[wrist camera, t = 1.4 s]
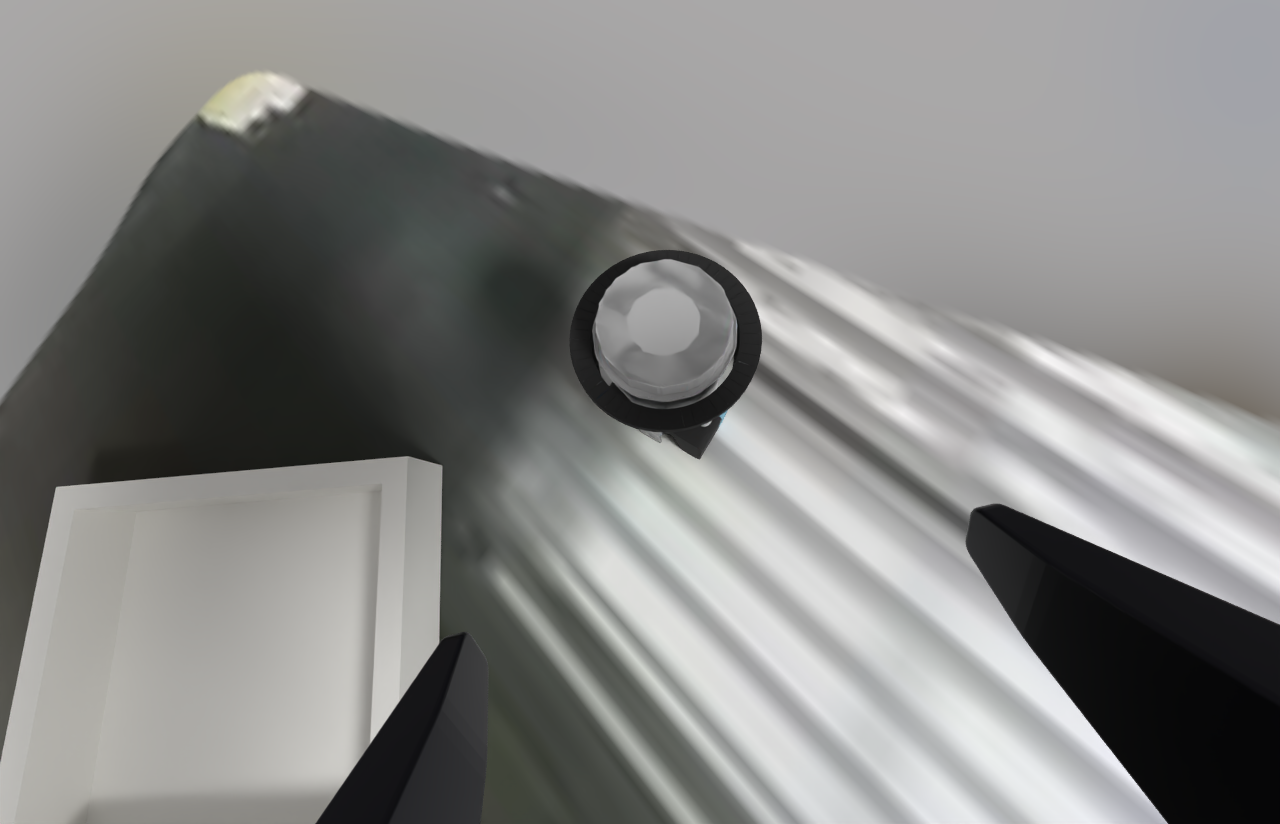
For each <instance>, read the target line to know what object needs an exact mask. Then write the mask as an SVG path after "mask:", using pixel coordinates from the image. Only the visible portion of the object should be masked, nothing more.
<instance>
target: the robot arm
mask: <svg viewBox="0 0 1280 824" xmlns="http://www.w3.org/2000/svg"><path fill="white" fill-rule="evenodd" d="M966 547H967V550H968V552H969V554H970V556H971V558H972V559H973V561H974V562H975V564H976V565H977V567H978V569H979V570H980V572H981V573H982V575H983V576H984V578H985V580H986V581H987V583H988V584H989V586H990V587H991V589H992V590H993V592H994V594H995V595H996V597H997V598H998V600H999V601H1000V603H1001V605H1002V606H1003V608H1004V609H1005V611H1006V612H1007V614H1008V616H1009V617H1010V619H1011V620H1012V622H1013V623H1014V625H1015V626H1016V628H1017V629H1018V631H1019V632H1020V634H1021V635H1022V637H1023V638H1024V639H1025V641H1026V642H1027V643H1028V645H1029V646H1030V647H1031V649H1032V650H1033V651H1034V653H1035V654H1036V655H1037V656H1038V658H1039V659H1040V660H1041V662H1042V663H1043V664H1044V665H1045V667H1046V668H1047V669H1048V670H1049V672H1050V673H1051V674H1052V676H1053V677H1054V678H1055V679H1056V681H1057V682H1058V683H1059V685H1060V686H1061V687H1062V688H1063V690H1064V691H1065V692H1066V694H1067V695H1068V696H1069V697H1070V699H1071V700H1072V701H1073V703H1074V704H1075V705H1076V706H1077V708H1078V709H1079V710H1080V711H1081V713H1082V714H1083V715H1084V717H1085V718H1086V719H1087V720H1088V722H1089V723H1090V724H1091V726H1092V727H1093V728H1094V729H1095V731H1096V732H1097V733H1098V735H1099V736H1100V737H1101V738H1102V740H1103V741H1104V742H1105V744H1106V745H1107V746H1108V747H1109V749H1110V750H1111V751H1112V752H1113V754H1114V755H1115V756H1116V758H1117V759H1118V760H1119V761H1120V763H1121V764H1122V765H1123V767H1124V768H1125V769H1126V770H1127V772H1128V773H1129V774H1130V776H1131V777H1132V778H1133V779H1134V781H1135V782H1136V783H1137V785H1138V786H1139V787H1140V788H1141V790H1142V791H1143V792H1144V793H1145V795H1146V796H1147V797H1148V799H1149V800H1150V801H1151V802H1152V804H1153V805H1154V806H1155V808H1156V809H1157V810H1158V811H1159V813H1160V814H1161V815H1162V817H1163V818H1164V819H1165V820H1166V822H1167V823H1168V824H1280V625H1279V624H1277V623H1275V622H1272V621H1270V620H1268V619H1265V618H1263V617H1261V616H1259V615H1256V614H1254V613H1252V612H1249V611H1247V610H1245V609H1242V608H1240V607H1238V606H1235V605H1233V604H1231V603H1229V602H1226V601H1224V600H1222V599H1219V598H1217V597H1215V596H1212V595H1210V594H1208V593H1206V592H1203V591H1201V590H1199V589H1196V588H1194V587H1192V586H1189V585H1187V584H1185V583H1182V582H1180V581H1178V580H1176V579H1173V578H1171V577H1169V576H1166V575H1164V574H1162V573H1159V572H1157V571H1155V570H1152V569H1150V568H1148V567H1146V566H1143V565H1141V564H1139V563H1136V562H1134V561H1132V560H1129V559H1127V558H1125V557H1122V556H1120V555H1118V554H1116V553H1113V552H1111V551H1109V550H1106V549H1104V548H1102V547H1099V546H1097V545H1095V544H1092V543H1090V542H1088V541H1086V540H1083V539H1081V538H1079V537H1076V536H1074V535H1072V534H1069V533H1067V532H1065V531H1063V530H1060V529H1058V528H1056V527H1053V526H1051V525H1049V524H1046V523H1044V522H1042V521H1039V520H1037V519H1035V518H1033V517H1030V516H1028V515H1026V514H1023V513H1021V512H1019V511H1016V510H1014V509H1012V508H1009V507H1007V506H1005V505H1002V504H990V505H986V506H981V507H977V508H975V509H974V510H973V511H972V512H971V514H970V519H969V525H968V530H967V535H966ZM487 736H488V664H487V660H486V657H485V655H484V654H483V652H482V651H481V649H480V648H479V646H478V645H477V643H476V642H475V640H474V639H473V637H472V636H471V634H469V633H467V632H462V633H457V634H453V635H449V636H447V637H445V638H444V639H442V640H441V642H440V643H439V644H438V646H437V647H436V649H435V650H434V652H433V653H432V655H431V656H430V657H429V659H428V660H427V662H426V663H425V665H424V666H423V668H422V669H421V671H420V672H419V673H418V675H417V676H416V678H415V679H414V681H413V682H412V684H411V685H410V687H409V688H408V689H407V691H406V692H405V694H404V695H403V697H402V698H401V700H400V701H399V703H398V704H397V705H396V707H395V708H394V710H393V711H392V713H391V714H390V716H389V717H388V718H387V720H386V721H385V723H384V724H383V726H382V727H381V729H380V730H379V732H378V733H377V734H376V736H375V737H374V739H373V740H372V742H371V743H370V745H369V746H368V748H367V749H366V750H365V752H364V753H363V755H362V756H361V758H360V759H359V761H358V762H357V764H356V765H355V766H354V768H353V769H352V771H351V772H350V774H349V775H348V777H347V778H346V780H345V781H344V782H343V784H342V785H341V787H340V788H339V790H338V791H337V793H336V794H335V796H334V797H333V798H332V800H331V801H330V803H329V804H328V806H327V807H326V809H325V810H324V812H323V813H322V814H321V816H320V817H319V819H318V820H317V822H316V823H315V824H480V823H481V814H482V805H483V796H484V787H485V778H486V767H487Z"/></svg>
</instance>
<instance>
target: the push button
mask: <svg viewBox="0 0 1280 824" xmlns="http://www.w3.org/2000/svg"><path fill="white" fill-rule="evenodd" d="M761 345H762V331H761V324H760V319H759V315H758V312H757V309H756V307H755V304H754V302H753V300H752V298H751V296H750V295H749V293H748V292H747V290H746V289H745V287H744V286H743V285H742V284H741V283H740V281H739V280H738V279H737V278H736V277H735V276H734V275H733V274H732V273H730V272H729V271H728V270H726V269H725V268H724V267H722V266H721V265H719V264H717V263H716V262H714V261H712V260H710V259H708V258H705V257H702V256H700V255H697V254H693V253H689V252H684V251H675V250H658V251H651V252H646V253H641V254H638V255H635V256H632V257H629V258H627V259H625V260H622V261H620V262H619V263H617V264H615V265H613V266H612V267H610V268H609V269H608V270H606V271H605V272H604V273H603V274H601V275H600V276H599V277H598V278H597V279H596V280H595V281H594V282H593V283H592V284H591V285H590V287H589V288H588V289H587V291H586V292H585V294H584V295H583V297H582V298H581V300H580V302H579V304H578V306H577V308H576V311H575V314H574V317H573V321H572V325H571V331H570V352H571V358H572V363H573V366H574V369H575V372H576V374H577V377H578V379H579V381H580V383H581V384H582V386H583V388H584V389H585V391H586V392H587V394H588V395H589V396H590V398H591V399H592V400H593V401H594V402H595V403H596V404H597V405H598V406H599V408H601V409H602V410H603V411H604V412H605V413H607V414H608V415H609V416H611V417H613V418H614V419H616V420H617V421H619V422H621V423H623V424H625V425H628V426H631V427H633V428H637V429H639V430H640V431H641V432H642V433H644V434H645V435H647V436H649V437H650V438H652V439H654V440H655V441H657V442H659V443H661V435H662V434H663V433H668V434H670V435H671V436H672V437H674V438H675V440H676V441H677V443H678V445H679V446H680V448H681V449H682V450H683V451H685V452H687V453H688V454H690V455H692V456H693V457H695V458H697V459H700V458H701V456H702V455H703V453H704V451H705V450H706V448H707V446H708V445H709V443H710V441H711V440H712V438H713V436H714V435H715V433H716V431H717V429H718V428H719V426H720V424H721V423H722V421H723V419H724V417H725V415H726V413H727V410H728V409H729V408H730V407H732V406H733V405H734V404H735V403H736V401H737V400H738V399H739V398H740V397H741V396H742V394H743V393H744V392H745V390H746V388H747V387H748V385H749V383H750V382H751V380H752V378H753V375H754V373H755V371H756V368H757V365H758V362H759V358H760V354H761ZM733 355H734V362H733V369H732V370H731V372H730V374H729V376H728V377H727V378H726V379H725V381H724V382H723V383H722V384H721V385H720V386H719V387H718V388H717V385H718V381H719V378H720V377H721V376H722V375H723V373H724V372H725V370H726V368H727V366H728V364H729V362H730V360H731V359H732V357H733ZM599 368H601V369H599ZM716 388H717V389H716Z"/></svg>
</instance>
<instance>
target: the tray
mask: <svg viewBox="0 0 1280 824" xmlns="http://www.w3.org/2000/svg"><path fill="white" fill-rule="evenodd" d="M441 513H442V465H439V464H435V463H431V462H427V461H424V460H420V459H416V458H413V457H409V456H405V457H393V458H382V459H371V460H359V461H348V462H336V463H325V464H314V465H302V466H291V467H279V468H268V469H257V470H245V471H234V472H222V473H211V474H200V475H188V476H177V477H165V478H154V479H143V480H131V481H120V482H108V483H97V484H86V485H74V486H63V487H56V491H55V496H54V501H53V506H52V510H51V515H50V520H49V525H48V530H47V535H46V540H45V545H44V550H43V555H42V560H41V565H40V570H39V575H38V580H37V585H36V589H35V594H34V599H33V604H32V609H31V614H30V619H29V624H28V629H27V634H26V639H25V644H24V649H23V654H22V659H21V664H20V668H19V673H18V678H17V683H16V688H15V693H14V698H13V703H12V708H11V713H10V718H9V723H8V728H7V733H6V738H5V743H4V747H3V752H2V757H1V762H0V824H315V823H316V822H317V820H318V819H319V817H320V816H321V814H322V813H323V812H324V810H325V809H326V807H327V806H328V804H329V803H330V801H331V800H332V798H333V797H334V796H335V794H336V793H337V791H338V790H339V788H340V787H341V785H342V784H343V782H344V781H345V780H346V778H347V777H348V775H349V774H350V772H351V771H352V769H353V768H354V766H355V765H356V764H357V762H358V761H359V759H360V758H361V756H362V755H363V753H364V752H365V750H366V749H367V748H368V746H369V745H370V743H371V742H372V740H373V739H374V737H375V736H376V734H377V733H378V732H379V730H380V729H381V727H382V726H383V724H384V723H385V721H386V720H387V718H388V717H389V716H390V714H391V713H392V711H393V710H394V708H395V707H396V705H397V704H398V703H399V701H400V700H401V698H402V697H403V695H404V694H405V692H406V691H407V689H408V688H409V687H410V685H411V684H412V682H413V681H414V679H415V678H416V676H417V675H418V673H419V672H420V671H421V669H422V668H423V666H424V665H425V663H426V662H427V660H428V659H429V657H430V656H431V655H432V653H433V652H434V650H435V649H436V647H437V646H438V644H439V618H440V565H441Z"/></svg>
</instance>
